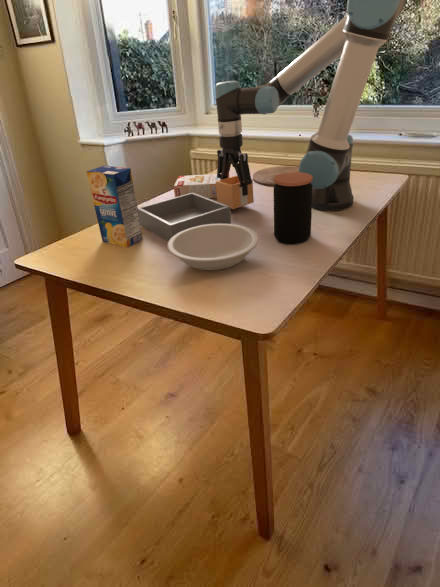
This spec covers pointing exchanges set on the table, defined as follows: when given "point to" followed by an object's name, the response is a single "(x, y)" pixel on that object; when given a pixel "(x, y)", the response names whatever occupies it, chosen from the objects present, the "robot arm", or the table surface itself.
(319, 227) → the table surface
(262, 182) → the trivet
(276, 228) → the coffee jar
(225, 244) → the soup bowl
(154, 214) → the charcoal crate
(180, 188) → the cracker box
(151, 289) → the table surface
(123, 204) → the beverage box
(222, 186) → the orange crate
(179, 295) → the table surface
